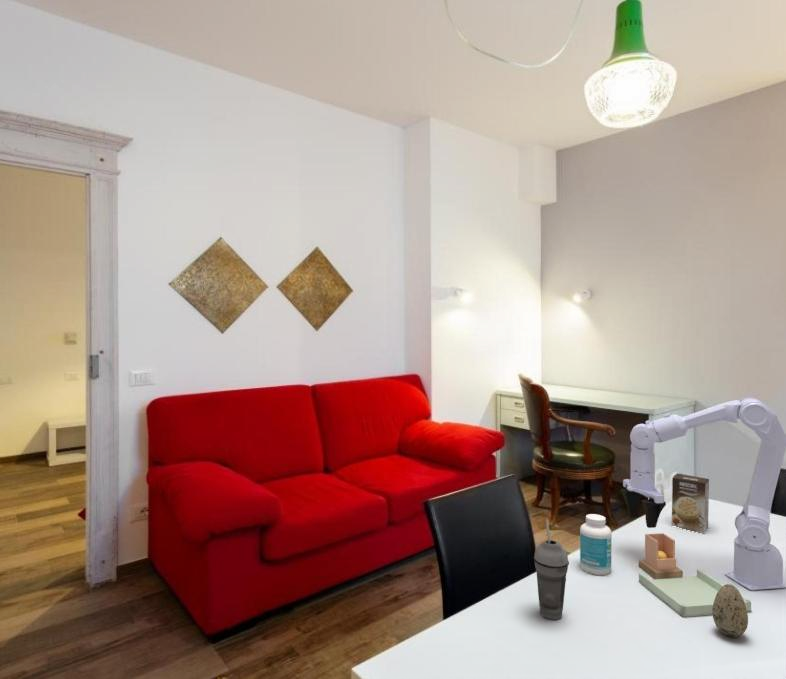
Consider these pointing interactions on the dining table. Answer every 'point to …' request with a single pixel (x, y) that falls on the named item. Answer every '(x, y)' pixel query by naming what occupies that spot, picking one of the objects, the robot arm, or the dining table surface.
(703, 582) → the tray
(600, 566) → the pill bottle
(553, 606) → the beverage cup
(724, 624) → the decorative egg
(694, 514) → the coffee box
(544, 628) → the dining table surface
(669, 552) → the brown u-shaped block
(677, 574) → the coaster
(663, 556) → the ball
